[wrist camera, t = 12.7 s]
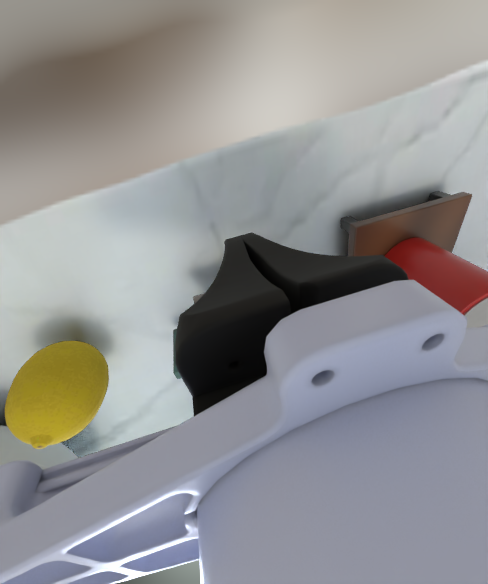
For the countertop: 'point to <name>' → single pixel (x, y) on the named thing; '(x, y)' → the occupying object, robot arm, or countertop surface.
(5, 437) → the serving bowl
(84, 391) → the lemon
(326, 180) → the countertop surface
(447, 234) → the brown square board
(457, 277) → the can
